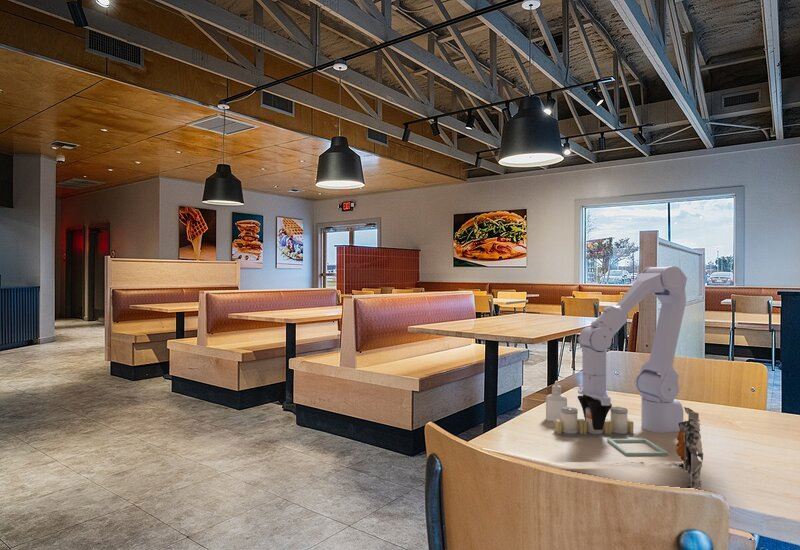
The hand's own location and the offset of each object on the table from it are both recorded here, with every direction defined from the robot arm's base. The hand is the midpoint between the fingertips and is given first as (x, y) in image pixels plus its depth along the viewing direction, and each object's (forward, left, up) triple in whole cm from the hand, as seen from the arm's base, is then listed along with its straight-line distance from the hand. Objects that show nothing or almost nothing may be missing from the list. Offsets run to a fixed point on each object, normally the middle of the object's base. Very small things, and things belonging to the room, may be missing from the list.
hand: (594, 426), depth 128 cm
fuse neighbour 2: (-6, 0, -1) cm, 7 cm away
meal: (-8, +27, -3) cm, 28 cm away
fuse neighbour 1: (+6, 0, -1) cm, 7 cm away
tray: (-5, +12, -3) cm, 13 cm away
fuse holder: (0, 0, -3) cm, 3 cm away
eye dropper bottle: (+6, -11, -3) cm, 13 cm away
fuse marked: (0, 0, -1) cm, 1 cm away
